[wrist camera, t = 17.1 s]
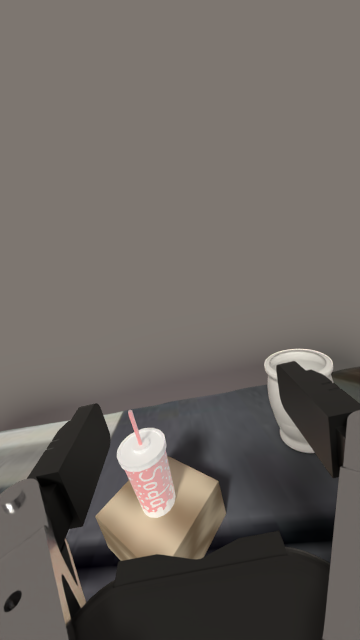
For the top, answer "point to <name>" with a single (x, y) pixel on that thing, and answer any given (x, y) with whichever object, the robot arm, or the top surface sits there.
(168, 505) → the beverage cup
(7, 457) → the top surface
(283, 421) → the jar
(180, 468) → the wooden riser
